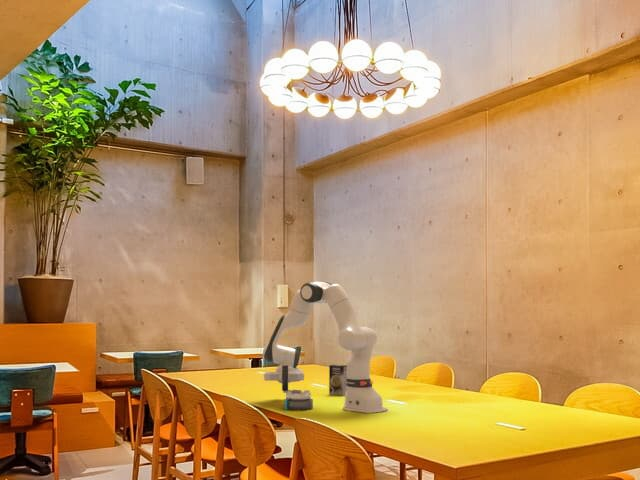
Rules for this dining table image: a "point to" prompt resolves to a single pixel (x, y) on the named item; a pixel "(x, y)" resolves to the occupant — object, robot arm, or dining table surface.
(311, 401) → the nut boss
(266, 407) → the dining table surface
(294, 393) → the disc with upright handle
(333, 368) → the coffee box
